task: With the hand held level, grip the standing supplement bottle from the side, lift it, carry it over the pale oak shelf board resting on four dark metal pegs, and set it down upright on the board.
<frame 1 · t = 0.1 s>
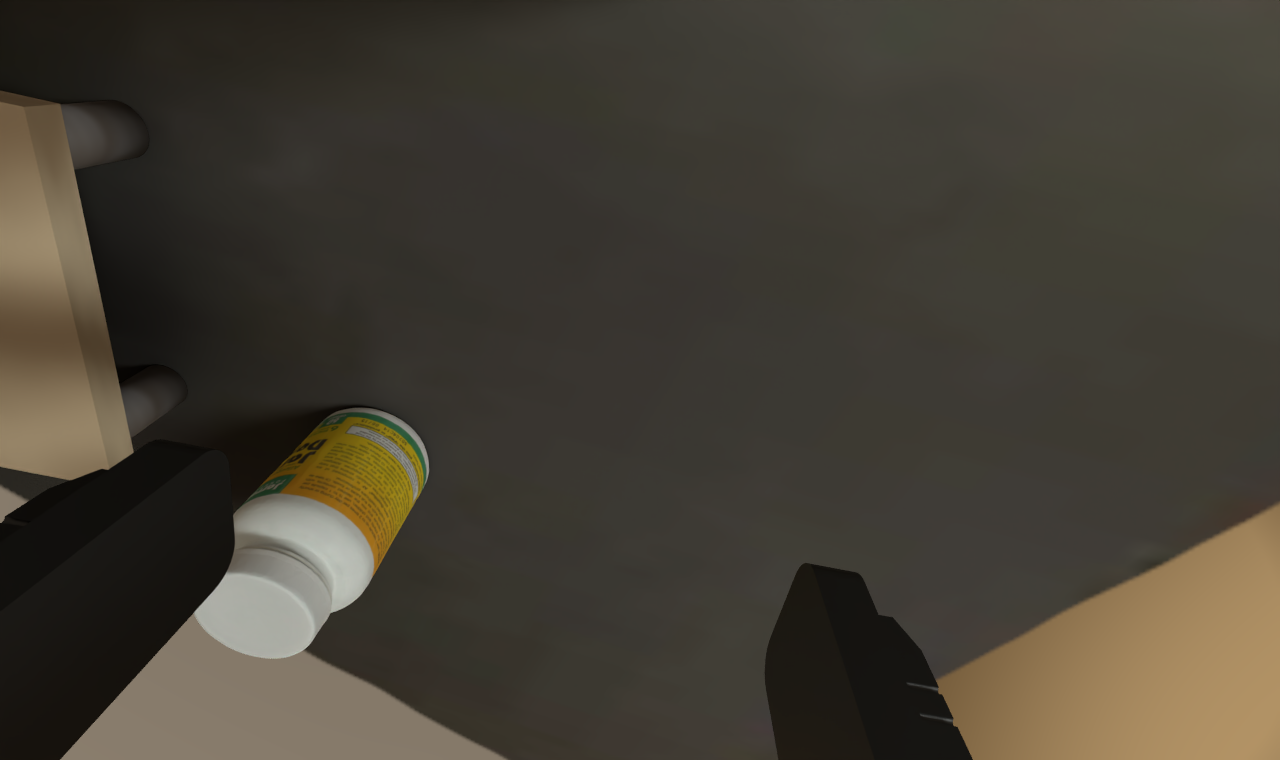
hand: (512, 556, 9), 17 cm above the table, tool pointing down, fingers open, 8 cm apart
supplement bottle: (377, 450, 30), on the table
peg shelf: (6, 240, 25), on the table
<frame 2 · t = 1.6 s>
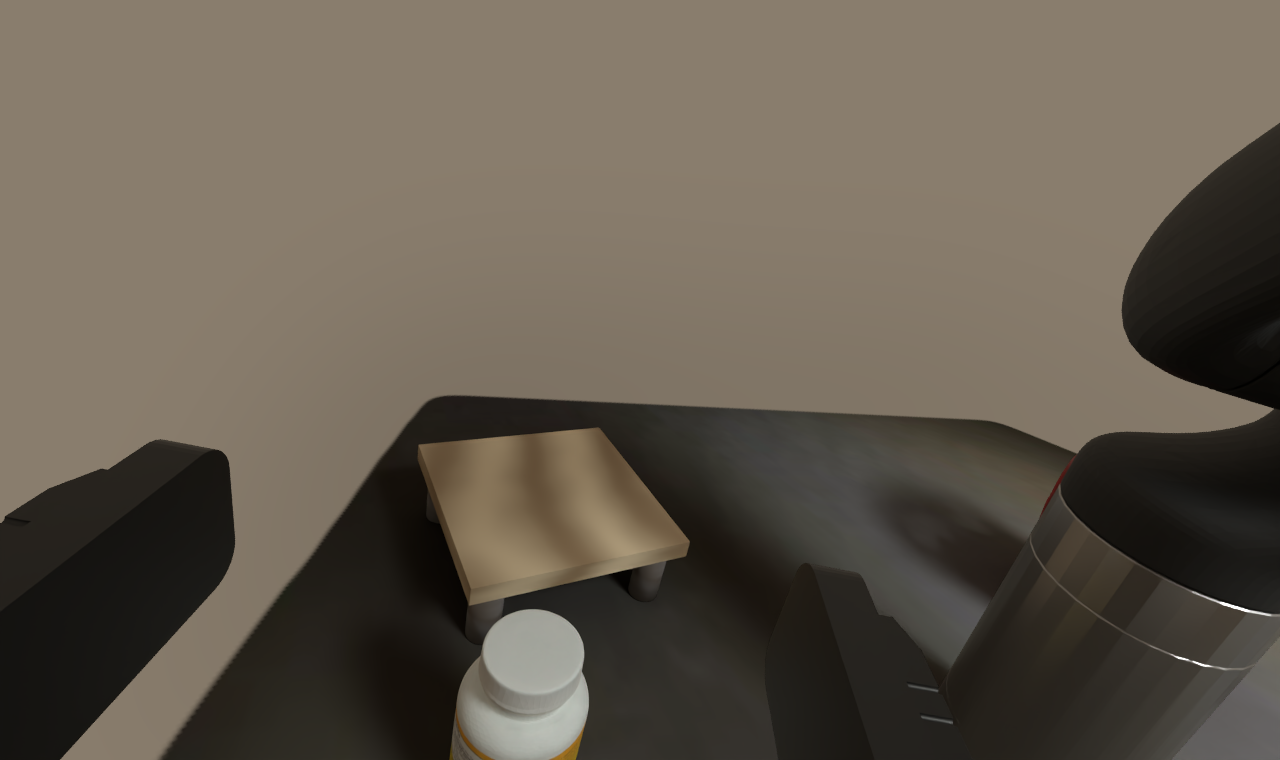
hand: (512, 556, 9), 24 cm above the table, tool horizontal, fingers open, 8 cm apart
peg shelf: (538, 551, 44), on the table
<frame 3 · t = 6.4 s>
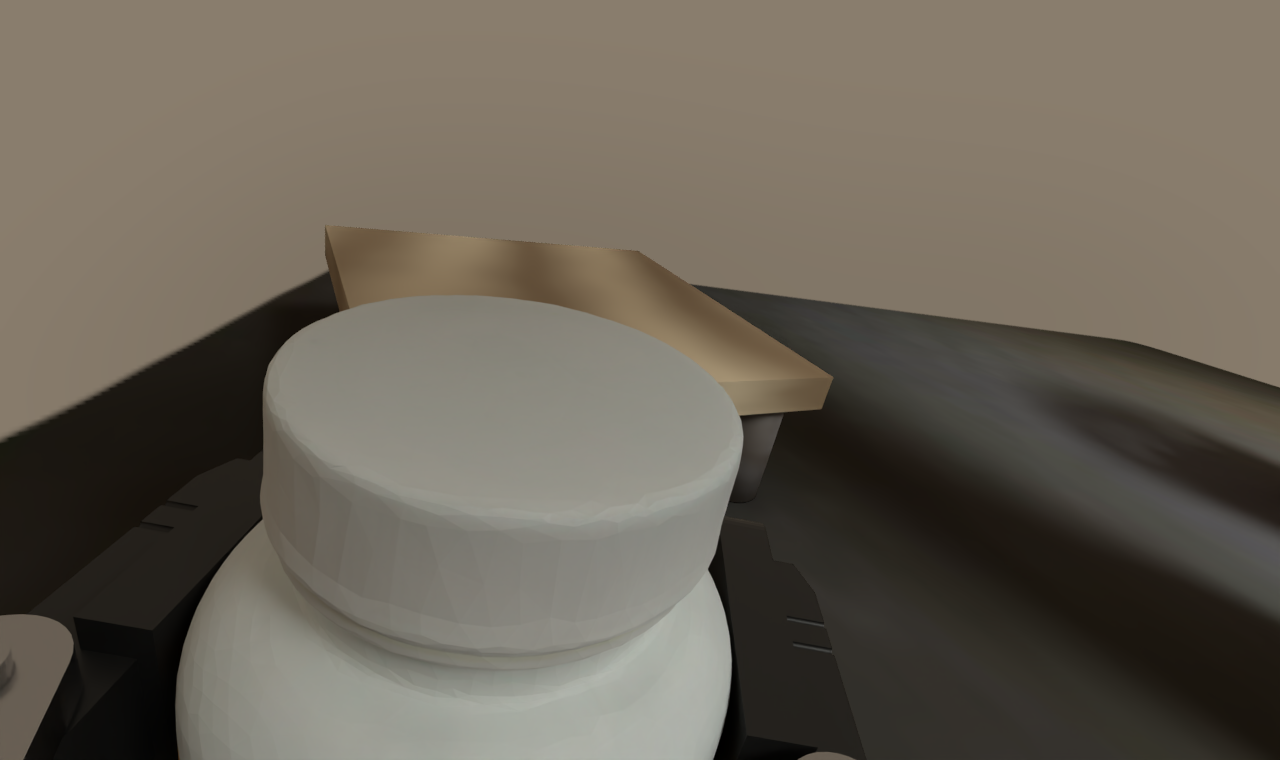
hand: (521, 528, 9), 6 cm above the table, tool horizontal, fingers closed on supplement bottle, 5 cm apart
peg shelf: (538, 420, 25), on the table
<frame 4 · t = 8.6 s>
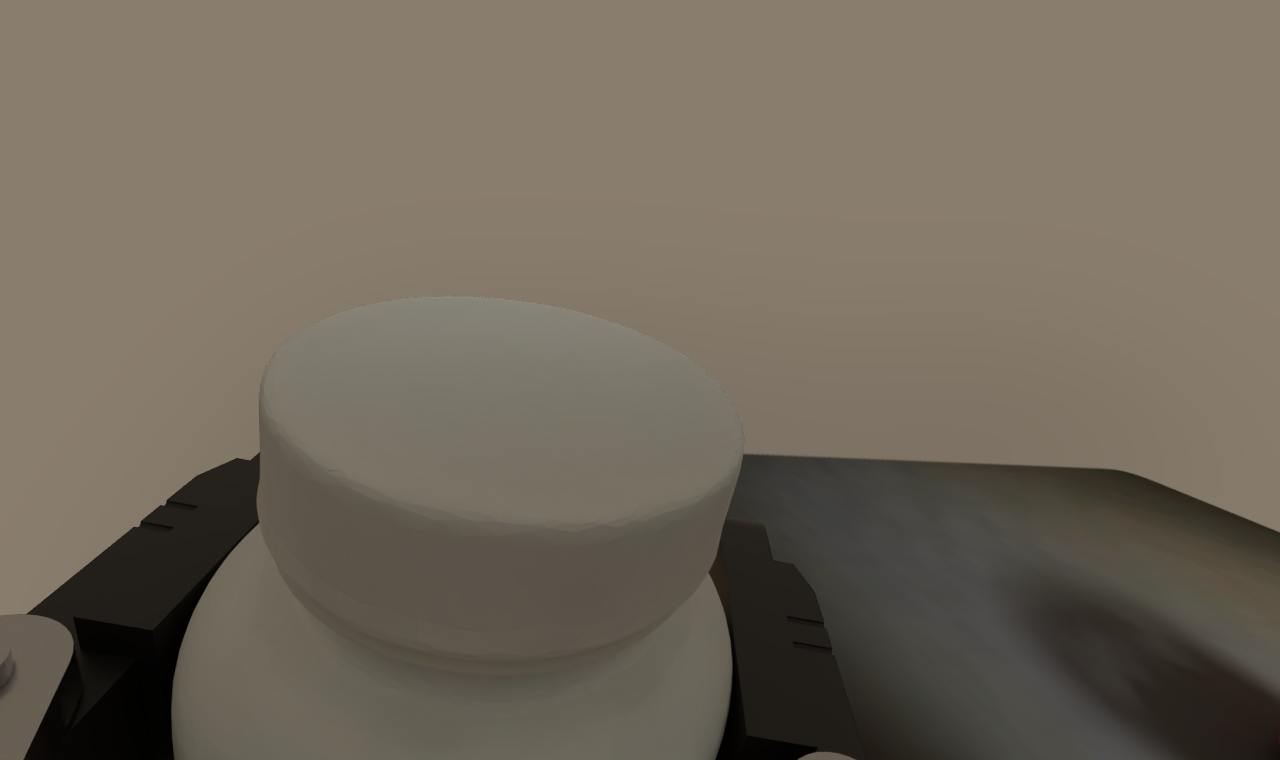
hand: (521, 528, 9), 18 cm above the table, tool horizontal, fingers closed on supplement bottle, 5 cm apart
when the fingers open (12 cm above the table, at t = 10.7 s): supplement bottle stays where it is, resting on peg shelf.
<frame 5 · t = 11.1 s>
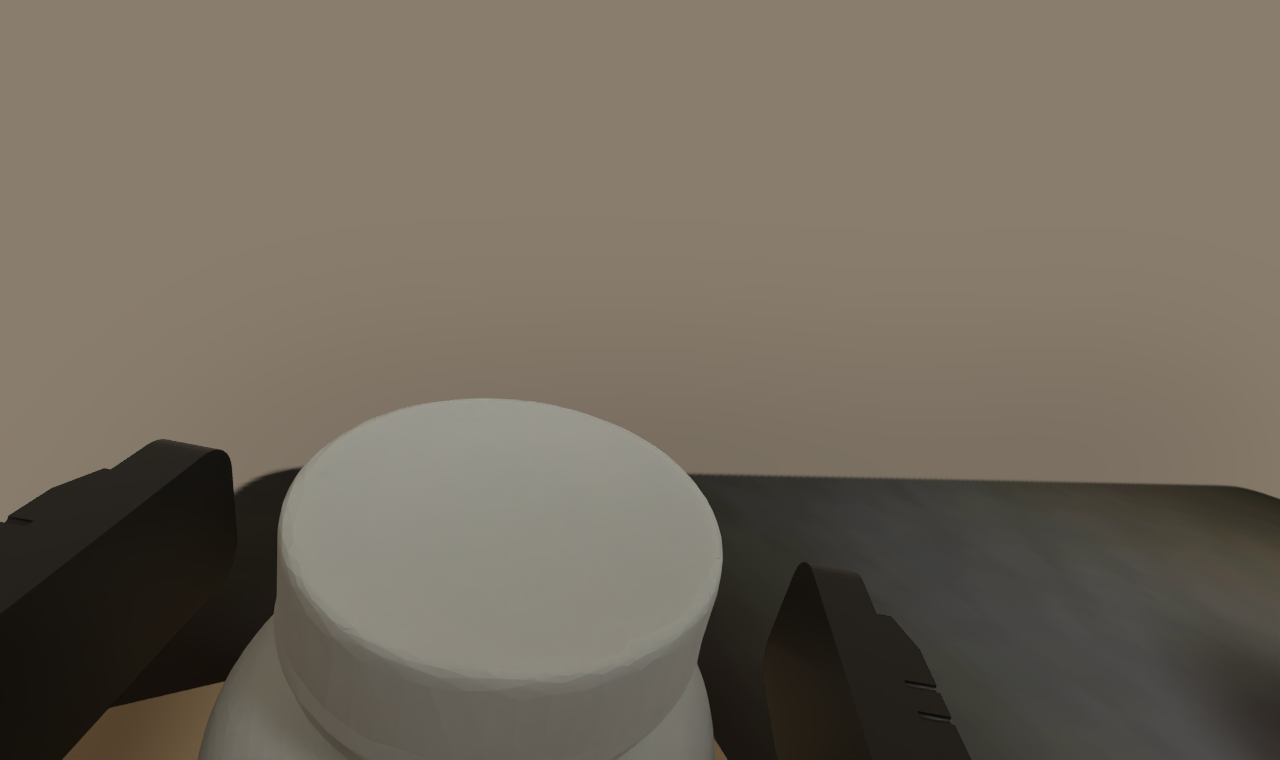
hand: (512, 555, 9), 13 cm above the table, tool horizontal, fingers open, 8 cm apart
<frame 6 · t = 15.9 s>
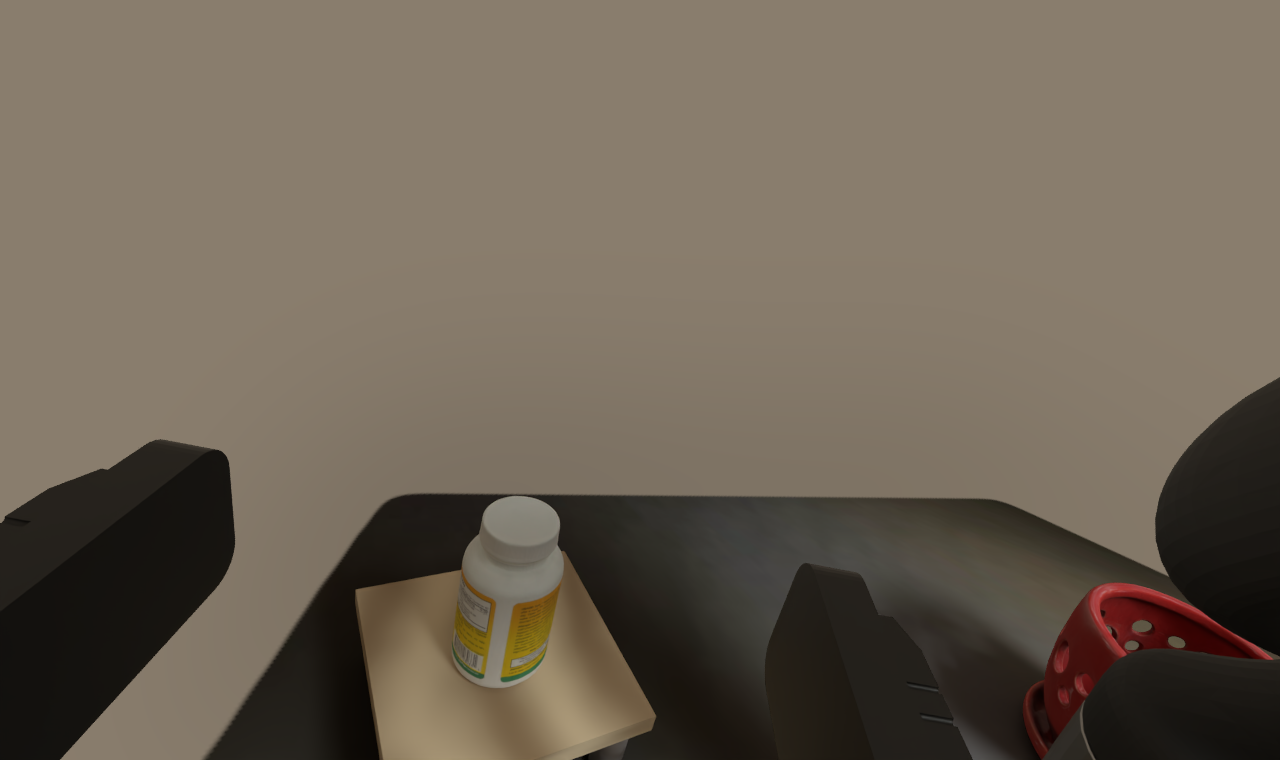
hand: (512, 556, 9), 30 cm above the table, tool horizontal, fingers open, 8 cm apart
supplement bottle: (499, 654, 37), point 5 cm above the table, touching peg shelf
peg shelf: (489, 709, 39), on the table
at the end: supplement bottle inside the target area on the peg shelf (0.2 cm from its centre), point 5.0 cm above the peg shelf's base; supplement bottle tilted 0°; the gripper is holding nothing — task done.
